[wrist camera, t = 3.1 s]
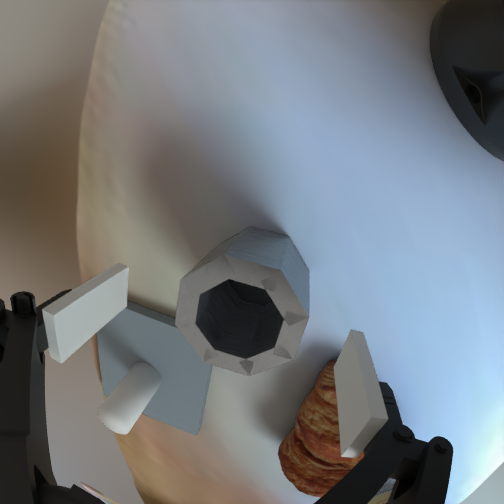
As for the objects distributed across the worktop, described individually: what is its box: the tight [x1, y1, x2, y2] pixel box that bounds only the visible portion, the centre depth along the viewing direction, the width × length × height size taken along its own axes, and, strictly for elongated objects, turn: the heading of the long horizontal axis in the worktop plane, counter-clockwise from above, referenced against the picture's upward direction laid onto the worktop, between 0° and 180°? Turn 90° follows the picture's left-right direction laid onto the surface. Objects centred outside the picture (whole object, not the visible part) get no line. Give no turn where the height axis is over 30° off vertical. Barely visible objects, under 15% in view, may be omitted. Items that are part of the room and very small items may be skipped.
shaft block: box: [97, 301, 213, 435], centre depth 23 cm, size 14×12×8 cm
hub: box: [175, 227, 309, 376], centre depth 19 cm, size 7×7×7 cm
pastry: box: [278, 360, 390, 497], centre depth 22 cm, size 17×15×8 cm
